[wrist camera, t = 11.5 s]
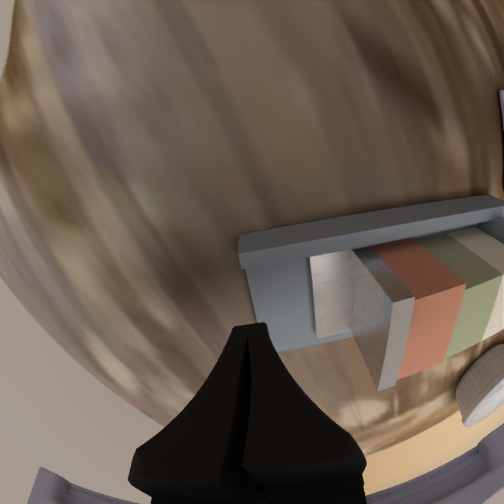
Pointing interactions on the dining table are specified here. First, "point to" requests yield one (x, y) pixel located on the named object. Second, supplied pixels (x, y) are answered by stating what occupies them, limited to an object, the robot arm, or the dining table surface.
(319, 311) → the bookend
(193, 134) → the dining table surface
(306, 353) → the dining table surface
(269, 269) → the shelf
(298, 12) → the dining table surface
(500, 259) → the cream book
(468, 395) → the ramekin
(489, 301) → the olive block
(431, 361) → the rust book
